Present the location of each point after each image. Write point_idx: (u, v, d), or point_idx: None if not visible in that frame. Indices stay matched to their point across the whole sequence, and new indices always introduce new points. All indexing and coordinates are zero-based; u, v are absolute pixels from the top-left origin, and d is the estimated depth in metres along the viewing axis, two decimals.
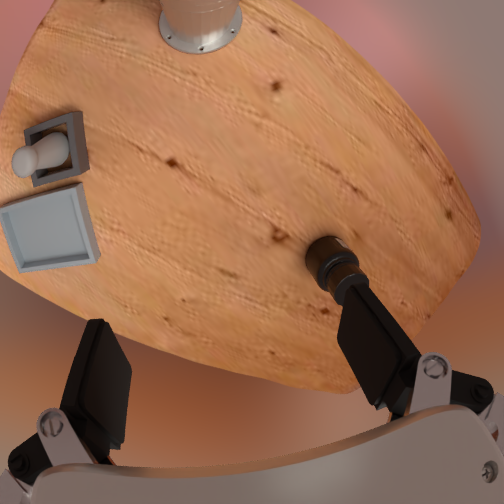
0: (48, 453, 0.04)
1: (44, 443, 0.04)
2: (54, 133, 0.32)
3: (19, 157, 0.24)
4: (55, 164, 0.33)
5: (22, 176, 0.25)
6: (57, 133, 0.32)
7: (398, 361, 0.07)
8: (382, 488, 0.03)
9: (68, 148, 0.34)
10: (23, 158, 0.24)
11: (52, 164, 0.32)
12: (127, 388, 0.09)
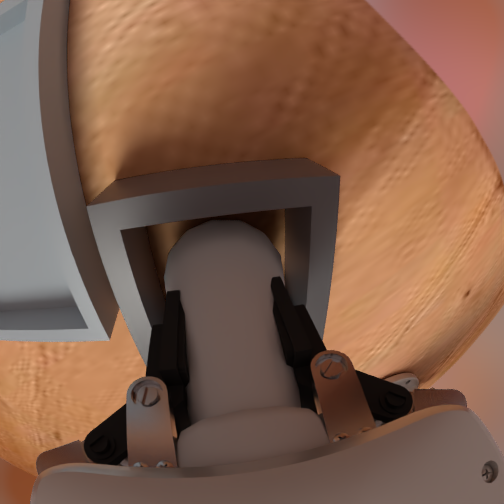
0: (128, 420, 0.06)
1: (129, 407, 0.06)
2: None
3: None
4: None
5: None
6: None
7: (290, 355, 0.08)
8: (383, 488, 0.03)
9: None
10: None
11: None
12: None
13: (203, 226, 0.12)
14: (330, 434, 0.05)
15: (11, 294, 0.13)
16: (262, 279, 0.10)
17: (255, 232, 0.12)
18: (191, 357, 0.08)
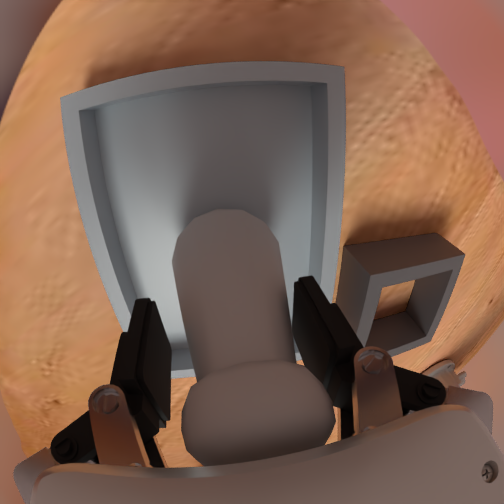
0: (93, 429, 0.05)
1: (93, 417, 0.06)
2: None
3: None
4: None
5: (197, 458, 0.06)
6: None
7: (333, 353, 0.07)
8: (382, 488, 0.03)
9: None
10: None
11: None
12: (169, 367, 0.10)
13: (209, 214, 0.13)
14: (361, 425, 0.05)
15: None
16: (262, 260, 0.11)
17: (256, 220, 0.14)
18: (199, 324, 0.09)
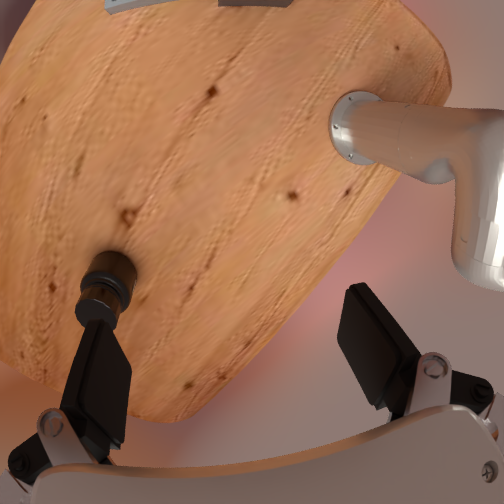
0: (48, 453, 0.04)
1: (44, 443, 0.04)
2: None
3: None
4: None
5: None
6: None
7: (398, 361, 0.07)
8: (382, 488, 0.03)
9: None
10: None
11: None
12: (127, 388, 0.09)
13: None
14: None
15: None
16: None
17: None
18: None
